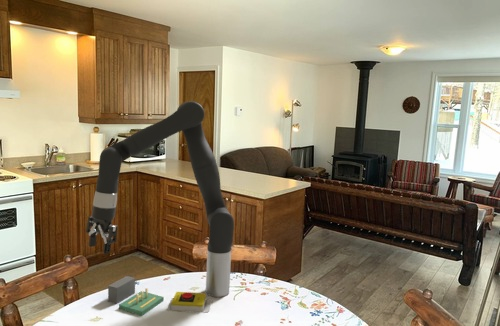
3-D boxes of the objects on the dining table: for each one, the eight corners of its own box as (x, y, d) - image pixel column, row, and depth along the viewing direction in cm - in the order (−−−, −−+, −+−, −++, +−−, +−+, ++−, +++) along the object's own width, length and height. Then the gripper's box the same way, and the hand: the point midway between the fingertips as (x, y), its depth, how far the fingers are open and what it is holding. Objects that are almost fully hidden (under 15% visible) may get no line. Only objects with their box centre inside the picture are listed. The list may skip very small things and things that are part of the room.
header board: (141, 294, 141) (141, 282, 141) (163, 300, 138) (163, 287, 137) (119, 308, 130) (119, 295, 130) (142, 315, 127) (142, 301, 126)
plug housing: (126, 290, 144) (126, 275, 143) (134, 293, 142) (135, 278, 142) (108, 301, 135) (108, 285, 134) (116, 304, 134) (117, 288, 133)
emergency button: (172, 288, 140) (212, 290, 140) (171, 299, 140) (211, 301, 140) (166, 300, 130) (209, 302, 130) (166, 311, 131) (208, 314, 131)
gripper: (126, 208, 128) (120, 254, 130) (102, 199, 136) (96, 242, 138) (107, 210, 122) (101, 258, 123) (83, 200, 130) (77, 245, 131)
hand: (98, 249), depth 130 cm, fingers open, 8 cm apart
